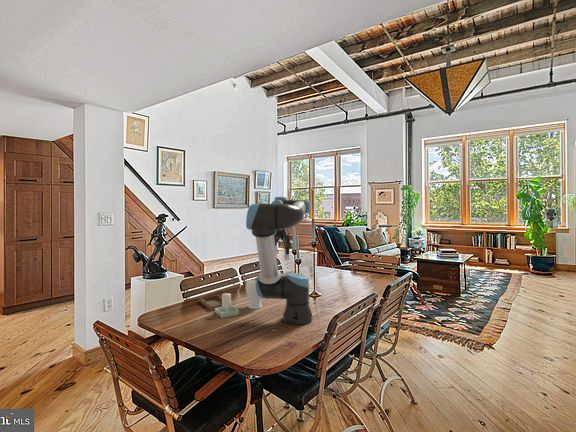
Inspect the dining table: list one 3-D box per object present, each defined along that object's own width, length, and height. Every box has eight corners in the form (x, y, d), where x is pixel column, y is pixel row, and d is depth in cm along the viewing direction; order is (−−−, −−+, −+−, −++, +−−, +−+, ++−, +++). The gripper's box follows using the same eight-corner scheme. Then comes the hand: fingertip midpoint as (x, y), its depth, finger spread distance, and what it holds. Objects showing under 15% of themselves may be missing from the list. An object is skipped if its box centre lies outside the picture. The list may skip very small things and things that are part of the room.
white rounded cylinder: (232, 313, 181) (232, 294, 180) (224, 314, 178) (224, 296, 178) (229, 310, 185) (228, 292, 184) (220, 312, 182) (220, 294, 182)
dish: (238, 314, 180) (238, 310, 180) (221, 317, 175) (221, 313, 175) (231, 309, 188) (231, 305, 188) (214, 312, 183) (214, 308, 183)
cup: (261, 310, 187) (261, 283, 186) (243, 309, 189) (243, 283, 188) (266, 305, 197) (266, 279, 196) (249, 304, 199) (249, 278, 199)
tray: (231, 308, 191) (231, 303, 191) (211, 311, 185) (211, 306, 185) (218, 299, 209) (218, 294, 209) (199, 302, 202) (199, 297, 202)
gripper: (297, 223, 192) (297, 260, 193) (275, 221, 213) (275, 255, 214) (286, 224, 188) (286, 262, 189) (265, 222, 209) (265, 256, 210)
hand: (280, 258), depth 201 cm, fingers open, 13 cm apart
